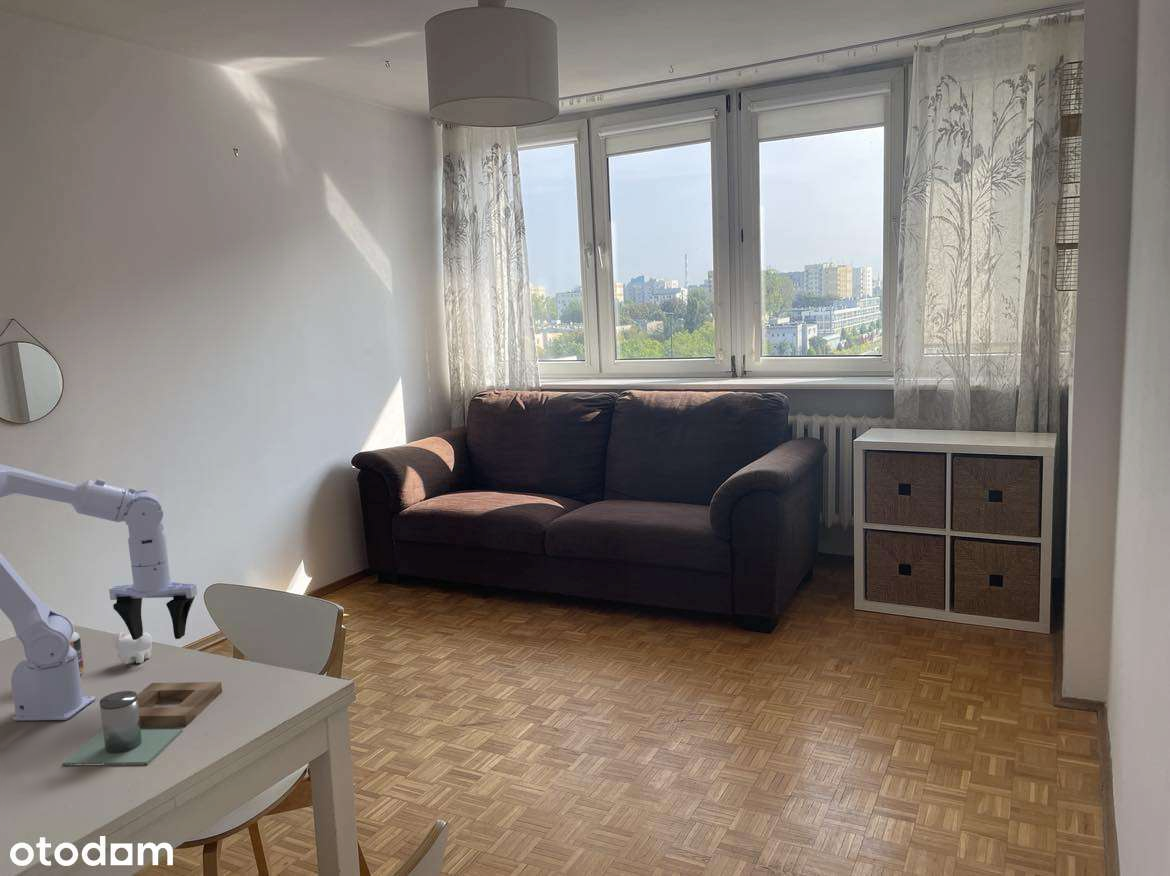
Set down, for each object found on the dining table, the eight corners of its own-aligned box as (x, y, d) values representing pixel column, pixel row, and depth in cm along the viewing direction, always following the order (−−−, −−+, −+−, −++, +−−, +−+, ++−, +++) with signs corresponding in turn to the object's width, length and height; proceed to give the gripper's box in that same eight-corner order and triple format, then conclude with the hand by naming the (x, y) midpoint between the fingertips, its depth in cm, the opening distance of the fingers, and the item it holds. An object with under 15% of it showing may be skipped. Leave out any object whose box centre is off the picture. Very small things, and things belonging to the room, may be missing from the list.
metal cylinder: (98, 753, 132) (92, 705, 131) (117, 737, 137) (111, 691, 136) (130, 753, 132) (125, 705, 131) (148, 737, 137) (143, 690, 136)
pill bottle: (68, 683, 160) (61, 630, 158) (41, 681, 161) (33, 629, 159) (91, 670, 165) (84, 619, 164) (65, 668, 166) (58, 618, 165)
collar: (111, 726, 142) (109, 716, 141) (153, 692, 154) (151, 683, 154) (186, 726, 141) (185, 715, 141) (222, 691, 153) (221, 681, 153)
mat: (62, 765, 130) (62, 762, 130) (102, 732, 140) (102, 730, 140) (147, 764, 129) (147, 762, 129) (182, 731, 139) (182, 729, 139)
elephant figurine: (106, 670, 165) (102, 639, 164) (135, 652, 173) (131, 623, 172) (139, 671, 164) (135, 640, 163) (166, 653, 172) (162, 624, 171)
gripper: (95, 570, 149) (105, 646, 151) (178, 568, 148) (187, 645, 150) (119, 557, 156) (128, 631, 158) (199, 555, 155) (207, 629, 157)
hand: (158, 637), depth 154 cm, fingers open, 7 cm apart
